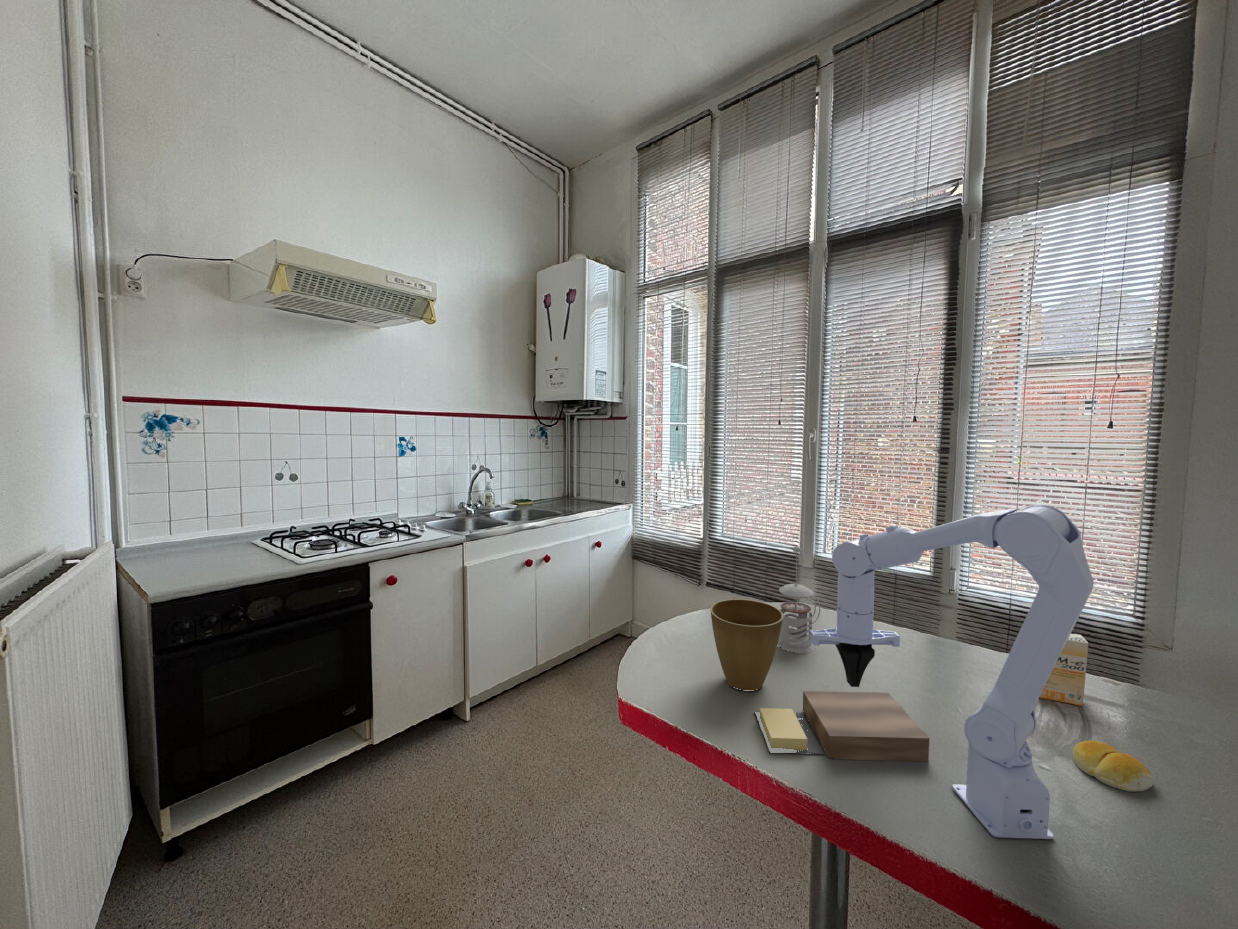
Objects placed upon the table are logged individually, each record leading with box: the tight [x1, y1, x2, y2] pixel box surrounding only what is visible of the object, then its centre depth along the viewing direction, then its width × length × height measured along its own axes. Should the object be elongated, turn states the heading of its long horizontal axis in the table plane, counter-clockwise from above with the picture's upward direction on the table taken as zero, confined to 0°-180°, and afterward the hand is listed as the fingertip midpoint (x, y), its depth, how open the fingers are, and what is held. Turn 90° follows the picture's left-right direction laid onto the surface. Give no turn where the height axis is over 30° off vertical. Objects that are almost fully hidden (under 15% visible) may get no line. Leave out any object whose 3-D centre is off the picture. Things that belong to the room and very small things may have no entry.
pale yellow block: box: [759, 707, 807, 750], centre depth 90 cm, size 9×6×2 cm, turn 177°
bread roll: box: [1072, 740, 1155, 793], centre depth 80 cm, size 8×9×4 cm
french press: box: [778, 546, 821, 654], centre depth 126 cm, size 10×12×25 cm
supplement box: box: [1039, 633, 1089, 707], centre depth 101 cm, size 8×5×13 cm, turn 62°
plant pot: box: [710, 598, 784, 690], centre depth 107 cm, size 15×15×16 cm
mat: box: [795, 711, 825, 755], centre depth 91 cm, size 12×9×1 cm
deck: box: [802, 690, 930, 762], centre depth 90 cm, size 14×16×4 cm
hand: (852, 684), depth 89 cm, fingers closed
